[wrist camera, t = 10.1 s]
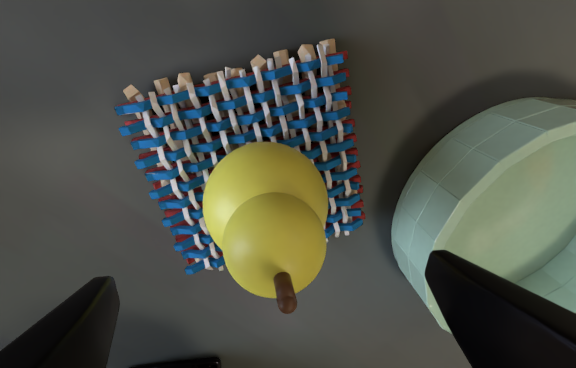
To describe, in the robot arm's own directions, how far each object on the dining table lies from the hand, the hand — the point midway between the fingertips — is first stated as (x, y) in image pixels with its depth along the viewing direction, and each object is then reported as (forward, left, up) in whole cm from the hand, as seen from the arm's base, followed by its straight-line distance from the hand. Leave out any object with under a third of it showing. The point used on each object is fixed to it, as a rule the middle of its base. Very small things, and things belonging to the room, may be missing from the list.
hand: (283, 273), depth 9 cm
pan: (-4, -16, -9) cm, 19 cm away
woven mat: (0, 0, -9) cm, 9 cm away
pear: (0, 0, -7) cm, 7 cm away
